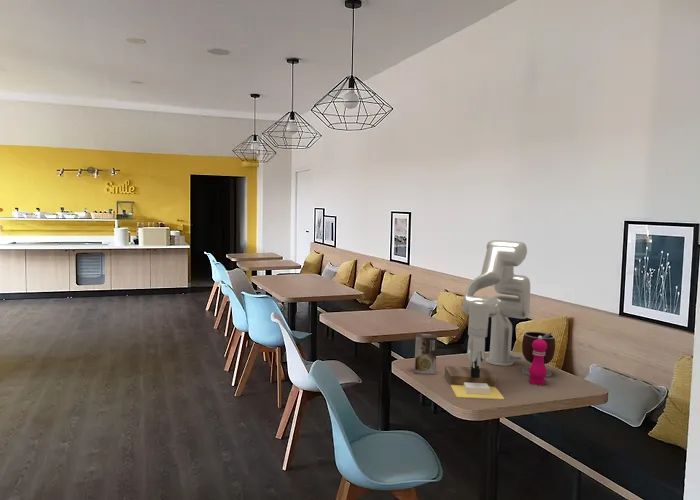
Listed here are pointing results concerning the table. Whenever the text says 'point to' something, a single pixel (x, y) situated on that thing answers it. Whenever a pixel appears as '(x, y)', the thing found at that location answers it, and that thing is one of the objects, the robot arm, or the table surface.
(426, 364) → the coffee box
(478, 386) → the white rectangular block
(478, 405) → the table surface
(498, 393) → the mustard mat
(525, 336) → the mate gourd
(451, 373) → the walnut board
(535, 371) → the pepper mill
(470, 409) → the table surface
